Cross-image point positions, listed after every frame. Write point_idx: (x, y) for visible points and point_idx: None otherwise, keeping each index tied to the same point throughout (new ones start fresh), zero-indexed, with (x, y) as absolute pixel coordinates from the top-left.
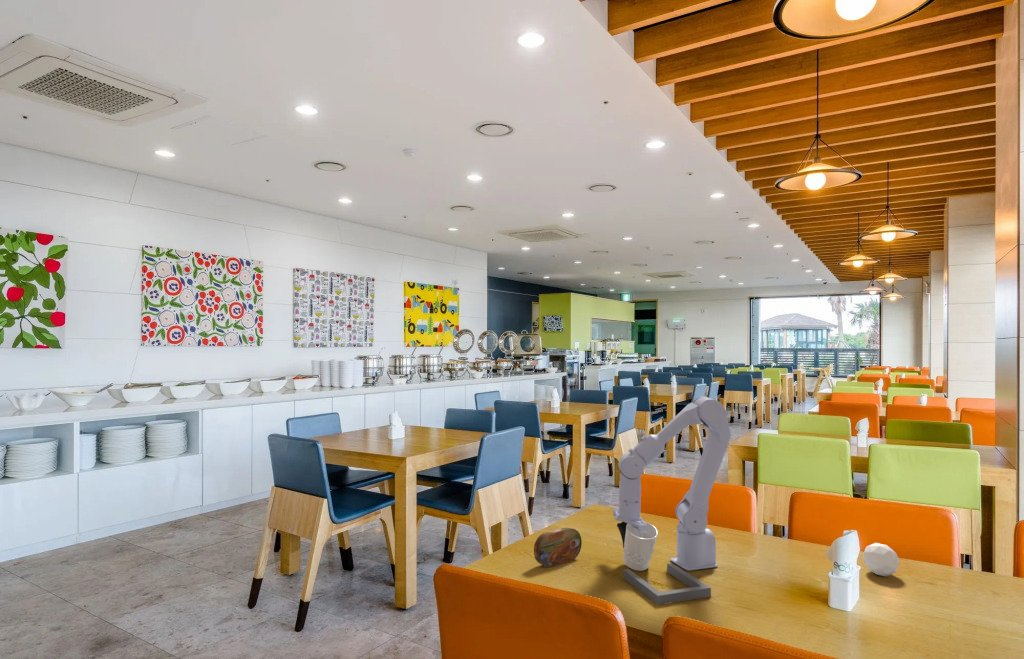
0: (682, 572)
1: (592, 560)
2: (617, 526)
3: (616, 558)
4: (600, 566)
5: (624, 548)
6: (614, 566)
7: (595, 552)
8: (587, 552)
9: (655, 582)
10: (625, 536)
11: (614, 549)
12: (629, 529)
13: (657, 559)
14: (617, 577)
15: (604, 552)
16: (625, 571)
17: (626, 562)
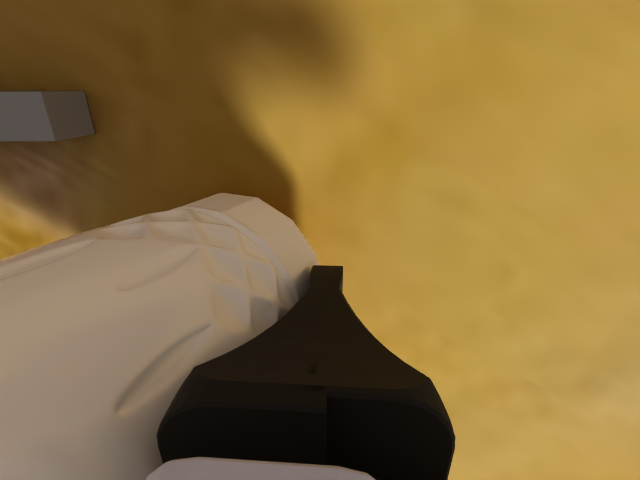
0: None
1: (450, 12)
2: (412, 375)
3: (410, 215)
4: (312, 20)
5: (190, 230)
6: (285, 132)
7: (585, 124)
8: (626, 55)
9: (20, 244)
10: (60, 292)
11: (555, 279)
12: (144, 440)
13: None
14: (94, 52)
15: (546, 190)
16: (8, 92)
17: (206, 198)
